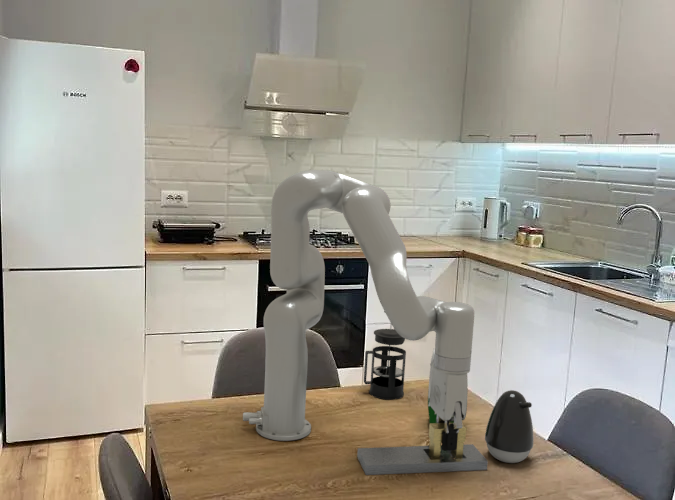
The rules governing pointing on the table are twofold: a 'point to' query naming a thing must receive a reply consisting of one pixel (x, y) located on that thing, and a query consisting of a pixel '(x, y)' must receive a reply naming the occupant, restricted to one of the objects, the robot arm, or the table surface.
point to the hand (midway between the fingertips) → (445, 445)
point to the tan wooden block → (436, 441)
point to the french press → (387, 381)
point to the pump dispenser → (510, 428)
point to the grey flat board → (417, 460)
